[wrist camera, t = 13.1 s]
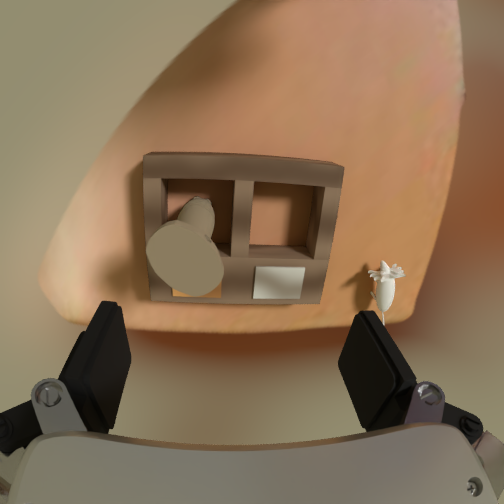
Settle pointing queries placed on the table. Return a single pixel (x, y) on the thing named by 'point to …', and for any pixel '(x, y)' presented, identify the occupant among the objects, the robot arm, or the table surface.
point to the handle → (187, 250)
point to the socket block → (239, 250)
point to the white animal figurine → (385, 285)
